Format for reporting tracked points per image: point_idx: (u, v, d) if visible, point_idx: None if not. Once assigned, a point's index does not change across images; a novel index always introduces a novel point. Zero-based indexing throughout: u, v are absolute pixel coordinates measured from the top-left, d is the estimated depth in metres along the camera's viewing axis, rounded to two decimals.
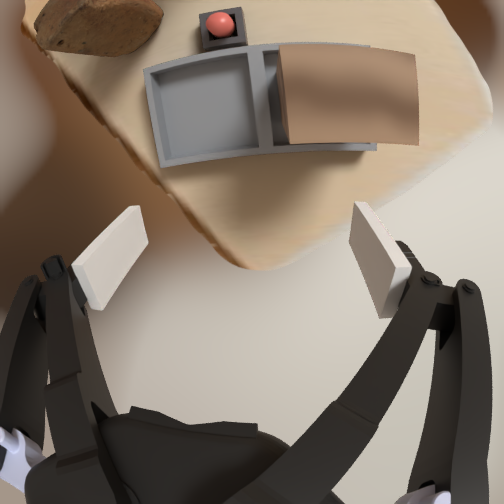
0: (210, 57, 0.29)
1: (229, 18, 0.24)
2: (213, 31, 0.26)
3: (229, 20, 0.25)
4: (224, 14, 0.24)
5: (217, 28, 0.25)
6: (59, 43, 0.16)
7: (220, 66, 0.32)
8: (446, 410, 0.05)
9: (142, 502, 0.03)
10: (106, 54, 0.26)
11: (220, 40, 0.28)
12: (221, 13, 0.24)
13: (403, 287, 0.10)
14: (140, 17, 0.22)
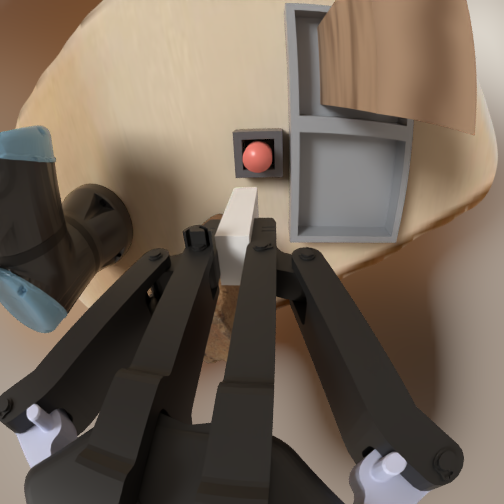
0: (298, 171, 0.32)
1: (253, 146, 0.29)
2: (268, 165, 0.30)
3: (256, 146, 0.29)
4: (247, 151, 0.30)
5: (265, 160, 0.30)
6: None
7: (305, 160, 0.34)
8: (340, 381, 0.06)
9: None
10: None
11: (276, 157, 0.32)
12: (245, 155, 0.30)
13: None
14: None
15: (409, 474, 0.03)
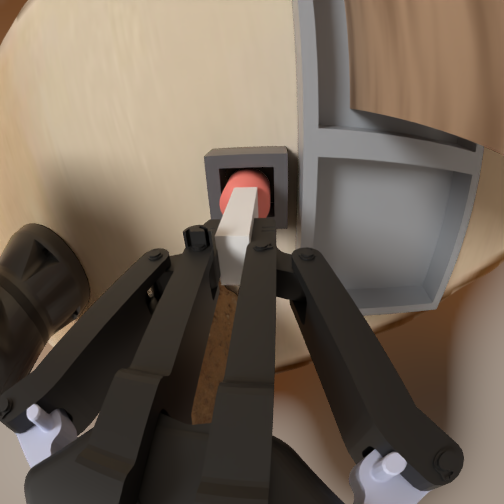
0: (313, 221, 0.20)
1: (238, 184, 0.17)
2: (264, 215, 0.18)
3: (242, 184, 0.17)
4: (226, 193, 0.18)
5: (258, 208, 0.18)
6: None
7: (322, 199, 0.22)
8: (340, 381, 0.06)
9: None
10: None
11: (277, 198, 0.20)
12: (223, 198, 0.18)
13: None
14: None
15: (409, 474, 0.03)
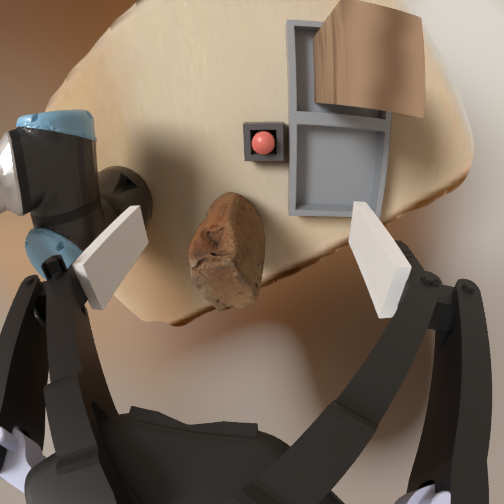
0: (295, 155, 0.39)
1: (260, 134, 0.37)
2: (272, 148, 0.38)
3: (262, 134, 0.37)
4: (255, 137, 0.37)
5: (269, 145, 0.38)
6: (255, 287, 0.35)
7: (301, 148, 0.41)
8: (446, 410, 0.05)
9: (142, 502, 0.03)
10: (264, 246, 0.45)
11: (278, 145, 0.39)
12: (253, 140, 0.38)
13: (402, 287, 0.10)
14: (241, 212, 0.40)
15: None
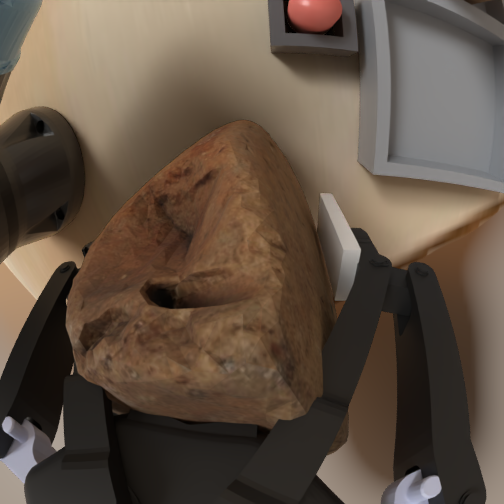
0: (386, 41, 0.12)
1: None
2: (337, 17, 0.11)
3: None
4: None
5: (331, 9, 0.11)
6: None
7: None
8: (416, 395, 0.06)
9: None
10: None
11: (345, 19, 0.12)
12: None
13: (354, 270, 0.11)
14: (271, 147, 0.13)
15: (436, 503, 0.02)
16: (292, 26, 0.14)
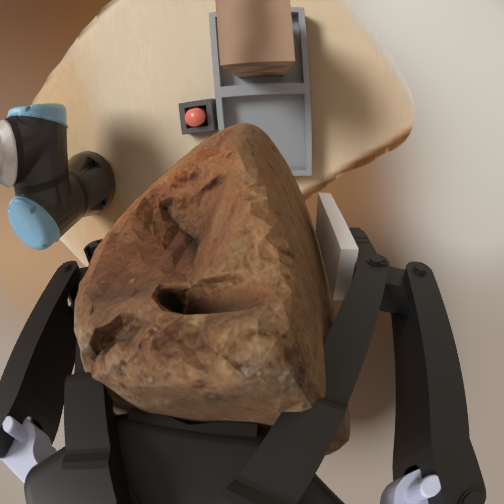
0: (223, 124, 0.43)
1: (191, 109, 0.41)
2: (201, 120, 0.42)
3: (192, 109, 0.41)
4: (187, 113, 0.41)
5: (199, 118, 0.42)
6: None
7: (231, 119, 0.45)
8: (415, 395, 0.06)
9: None
10: None
11: (208, 117, 0.43)
12: (186, 115, 0.42)
13: (352, 269, 0.11)
14: (273, 152, 0.13)
15: (435, 503, 0.03)
16: None
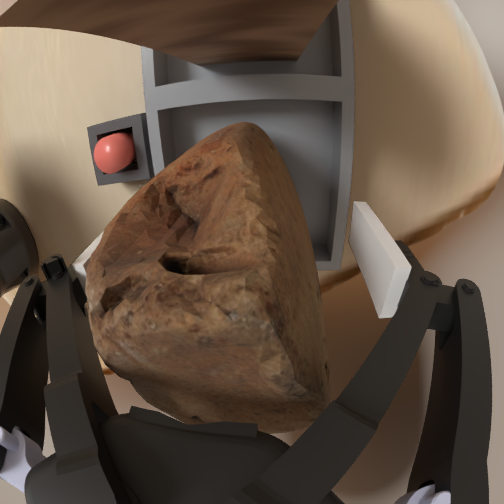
0: (163, 168, 0.21)
1: (103, 140, 0.19)
2: (122, 162, 0.20)
3: (105, 139, 0.19)
4: (97, 148, 0.19)
5: (118, 156, 0.20)
6: None
7: None
8: (446, 410, 0.05)
9: (142, 502, 0.03)
10: None
11: (138, 152, 0.21)
12: (95, 152, 0.20)
13: (403, 287, 0.10)
14: (270, 149, 0.14)
15: None
16: None
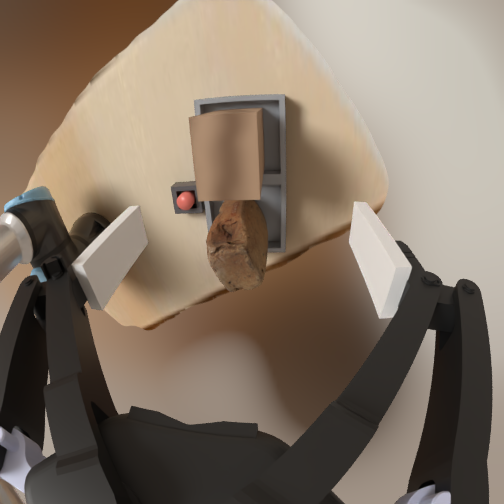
0: (209, 209, 0.54)
1: (181, 195, 0.52)
2: (191, 205, 0.53)
3: (183, 195, 0.52)
4: (178, 198, 0.52)
5: (189, 203, 0.53)
6: None
7: None
8: (446, 410, 0.05)
9: (142, 502, 0.03)
10: (267, 240, 0.52)
11: (197, 201, 0.54)
12: (177, 200, 0.52)
13: (403, 287, 0.10)
14: (250, 209, 0.47)
15: None
16: None
